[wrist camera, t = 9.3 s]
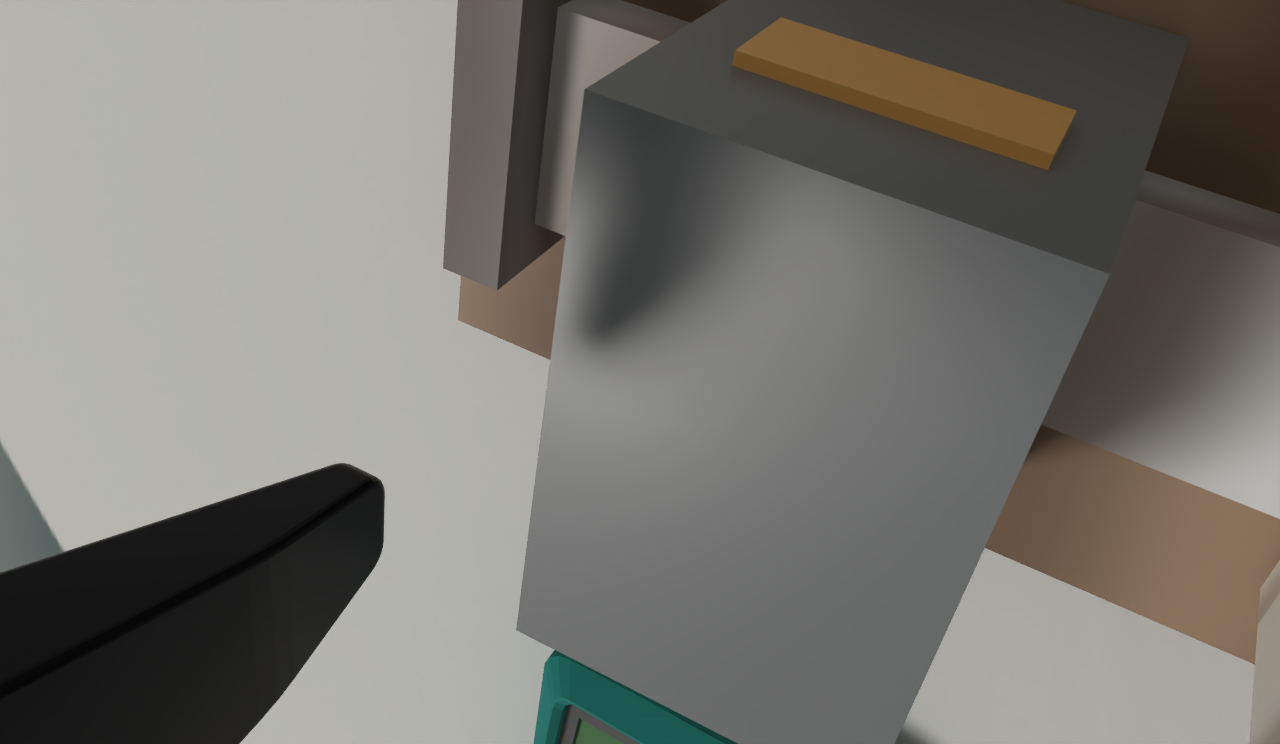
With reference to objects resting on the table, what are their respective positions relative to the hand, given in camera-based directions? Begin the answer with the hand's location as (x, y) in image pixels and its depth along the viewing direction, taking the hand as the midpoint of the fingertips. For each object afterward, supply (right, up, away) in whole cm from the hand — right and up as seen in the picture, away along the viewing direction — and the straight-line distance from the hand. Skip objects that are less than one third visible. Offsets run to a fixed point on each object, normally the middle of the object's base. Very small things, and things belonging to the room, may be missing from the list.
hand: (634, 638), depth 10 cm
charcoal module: (+4, +4, +7) cm, 9 cm away
